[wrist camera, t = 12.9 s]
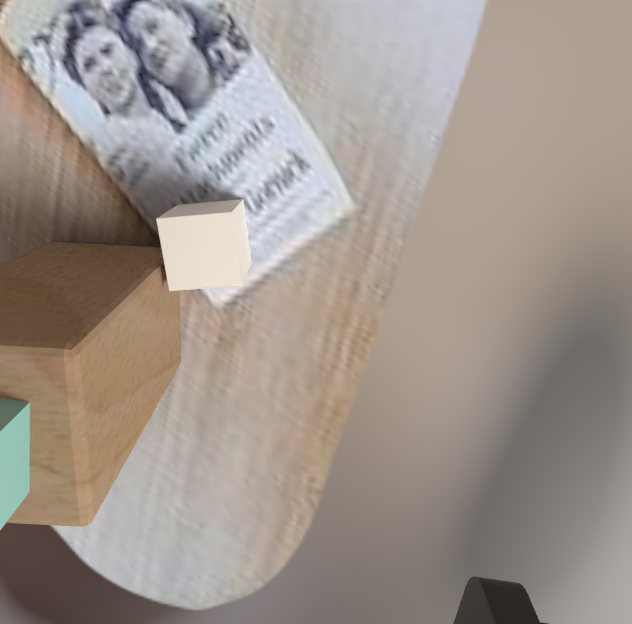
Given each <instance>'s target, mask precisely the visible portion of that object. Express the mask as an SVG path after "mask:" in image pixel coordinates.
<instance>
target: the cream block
mask: <svg viewBox="0 0 632 624" xmlns="http://www.w3.org/2000/svg"><path fill="white" fill-rule="evenodd" d="M156 220H157V226H158V231H159V237H160V242H161V248H162V253H163V259H164V264H165V270H166V275H167V281H168V286H169V291H178V290H190V289H202V288H214V287H226V286H238V285H242V283H243V281H244V279H245V277H246V275H247V272H248V270H249V268H250V266H251V264H252V262H251V254H250V247H249V239H248V231H247V224H246V216H245V208H244V201H243V199H237V200H226V201H214V202H203V203H192V204H181V205H177V206H175V207H173V208H172V209H170V210H169V211H167V212H166V213H164V214H163V215H161V216H160V217H158V218H157V219H156Z"/></svg>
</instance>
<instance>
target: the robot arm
mask: <svg viewBox="0 0 632 624" xmlns="http://www.w3.org/2000/svg"><path fill="white" fill-rule="evenodd" d="M454 624H547V623H540V622H539V619H538V617H537V615H536V612H535V610H534V608H533V605H532V603H531V601H530V598H529V596H528V594H527V592H526V590H525V588H524V587H523V586H522V585H521V584H519V583H515V582H508V581H501V580H495V579H488V578H481V577H471V578H470V579H469V581H468V583H467V585H466V588H465V591H464V594H463V597H462V600H461V603H460V606H459V609H458V612H457V615H456V618H455V621H454Z"/></svg>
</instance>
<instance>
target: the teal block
mask: <svg viewBox="0 0 632 624" xmlns="http://www.w3.org/2000/svg"><path fill="white" fill-rule="evenodd" d="M29 487H30V402H25V401H19V400H12V399H5V398H0V530H1V528H2V527H3V526H4V525H5V523H6V522H7V521H8V519H9V518H10V517H11V515H12V514H13V513H14V512H15V510H16V509H17V508H18V506H19V505H20V504H21V502H22V501H23V500H24V499H25V497H26V496H27V495H28V493H29Z"/></svg>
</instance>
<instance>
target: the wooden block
mask: <svg viewBox="0 0 632 624" xmlns="http://www.w3.org/2000/svg"><path fill="white" fill-rule="evenodd" d="M180 362H181V345H180V305H179V290H178V291H169V286H168V281H167V275H166V270H165V264H164V259H163V253H162V248H161V247H146V246H129V245H111V244H93V243H76V242H58V241H53V242H50V243H48V244H46V245H44V246H42V247H40V248H38V249H35V250H33V251H31V252H29V253H27V254H25V255H23V256H21V257H19V258H17V259H15V260H13V261H11V262H9V263H7V264H4V265H2V266H0V398H5V399H12V400H19V401H25V402H30V487H29V493H28V495H27V496H26V497H25V499H24V500H23V501H22V502H21V504H20V505H19V506H18V508H17V509H16V510H15V512H14V513H13V514H12V515H11V517H10V518H9V519H8V521H7V522H6V523H24V524H43V525H63V526H86V525H88V524H90V523H91V522H92V520H93V519H94V517H95V515H96V513H97V512H98V510H99V508H100V506H101V504H102V503H103V501H104V499H105V497H106V495H107V494H108V492H109V490H110V488H111V486H112V485H113V483H114V481H115V479H116V478H117V476H118V474H119V472H120V470H121V469H122V467H123V465H124V463H125V461H126V460H127V458H128V456H129V454H130V453H131V451H132V449H133V447H134V445H135V444H136V442H137V440H138V438H139V436H140V435H141V433H142V431H143V429H144V427H145V426H146V424H147V422H148V420H149V419H150V417H151V415H152V413H153V411H154V410H155V408H156V406H157V404H158V402H159V401H160V399H161V397H162V395H163V394H164V392H165V390H166V388H167V386H168V385H169V383H170V381H171V379H172V377H173V376H174V374H175V372H176V370H177V368H178V367H179V365H180Z"/></svg>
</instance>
